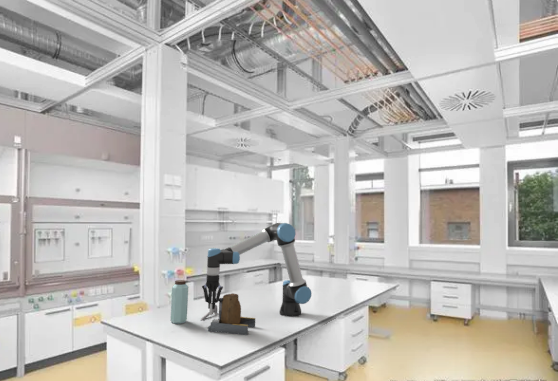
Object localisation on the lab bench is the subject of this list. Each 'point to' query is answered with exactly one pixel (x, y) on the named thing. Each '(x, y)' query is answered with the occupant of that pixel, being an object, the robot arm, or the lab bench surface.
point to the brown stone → (231, 309)
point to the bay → (233, 326)
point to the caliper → (208, 313)
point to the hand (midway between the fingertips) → (211, 314)
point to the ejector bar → (219, 311)
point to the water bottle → (179, 302)
